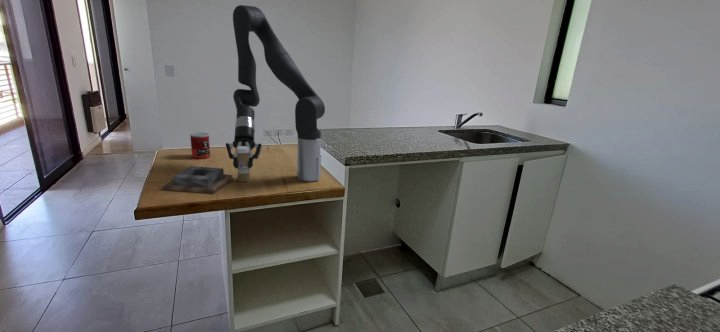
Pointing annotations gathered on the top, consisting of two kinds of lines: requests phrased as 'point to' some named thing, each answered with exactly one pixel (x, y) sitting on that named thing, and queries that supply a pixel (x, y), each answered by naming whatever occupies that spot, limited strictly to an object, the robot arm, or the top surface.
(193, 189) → the socket board
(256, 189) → the top surface
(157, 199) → the top surface
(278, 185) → the top surface
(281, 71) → the robot arm
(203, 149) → the canned food
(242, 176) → the sprinkles bottle
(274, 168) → the top surface
